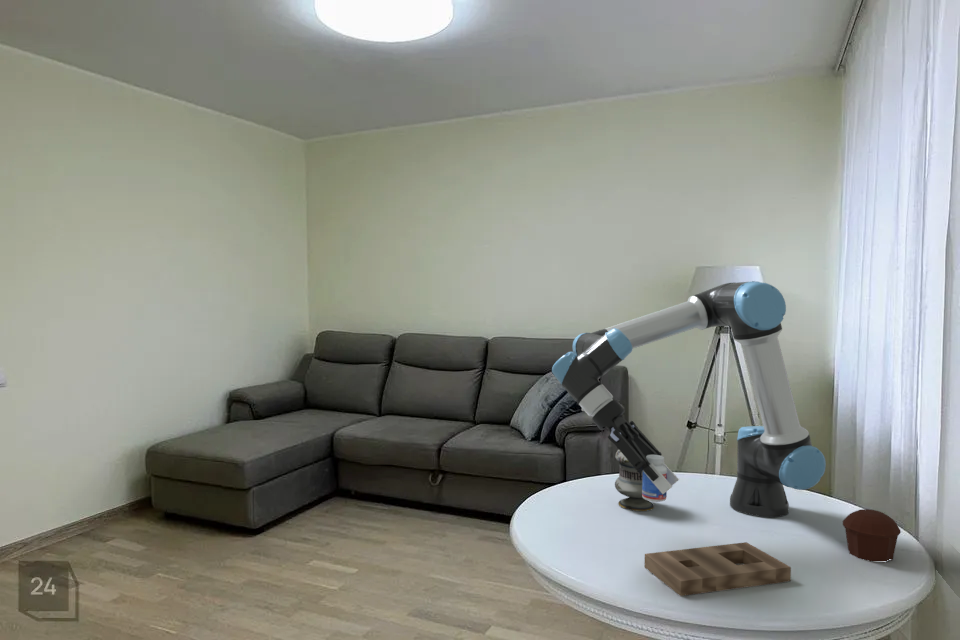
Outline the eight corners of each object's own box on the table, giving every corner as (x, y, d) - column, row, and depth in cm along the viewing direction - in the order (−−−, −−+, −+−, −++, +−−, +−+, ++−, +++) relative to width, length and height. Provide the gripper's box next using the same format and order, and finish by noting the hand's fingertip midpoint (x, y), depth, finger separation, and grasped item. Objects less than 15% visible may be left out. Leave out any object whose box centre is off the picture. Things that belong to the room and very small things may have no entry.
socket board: (746, 555, 148) (746, 542, 148) (790, 581, 135) (790, 567, 135) (644, 567, 141) (644, 553, 141) (680, 596, 128) (680, 581, 128)
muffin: (866, 566, 142) (868, 521, 142) (830, 547, 153) (831, 505, 153) (912, 562, 145) (913, 518, 144) (873, 543, 155) (874, 502, 155)
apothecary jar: (608, 507, 181) (609, 444, 180) (622, 496, 191) (623, 436, 191) (651, 515, 175) (651, 449, 174) (663, 503, 185) (664, 441, 184)
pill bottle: (662, 504, 145) (663, 460, 144) (639, 499, 148) (639, 457, 147) (669, 497, 149) (670, 455, 149) (646, 493, 152) (647, 452, 152)
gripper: (604, 412, 163) (669, 486, 156) (577, 424, 148) (647, 508, 140) (625, 392, 161) (692, 467, 153) (599, 403, 145) (673, 487, 137)
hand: (671, 486), depth 147 cm, fingers closed on pill bottle, 5 cm apart
